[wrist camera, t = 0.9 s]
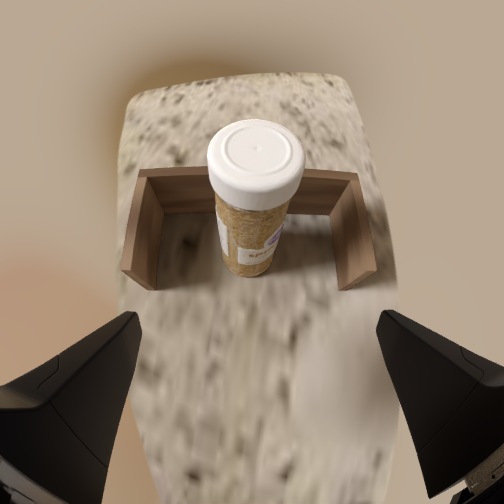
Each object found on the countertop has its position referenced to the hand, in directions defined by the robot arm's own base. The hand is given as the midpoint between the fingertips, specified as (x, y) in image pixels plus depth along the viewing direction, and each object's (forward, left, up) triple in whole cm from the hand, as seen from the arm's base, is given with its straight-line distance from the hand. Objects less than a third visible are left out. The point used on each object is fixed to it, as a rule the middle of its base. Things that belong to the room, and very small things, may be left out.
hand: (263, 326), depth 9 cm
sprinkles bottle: (+5, +6, -13) cm, 15 cm away
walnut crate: (+5, +6, -13) cm, 15 cm away
